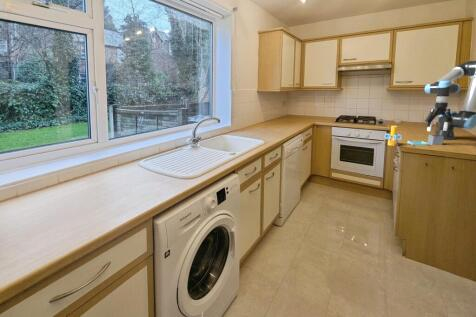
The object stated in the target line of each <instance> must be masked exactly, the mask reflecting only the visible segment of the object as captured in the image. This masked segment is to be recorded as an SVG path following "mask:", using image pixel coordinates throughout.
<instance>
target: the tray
mask: <svg viewBox="0 0 476 317" xmlns="http://www.w3.org/2000/svg"><path fill="white" fill-rule="evenodd" d="M406 142H407V144H409V145H410V146H412V147H417V146H430V144H429V143H428V142H426V141H423V140H407V141H406Z"/></svg>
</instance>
